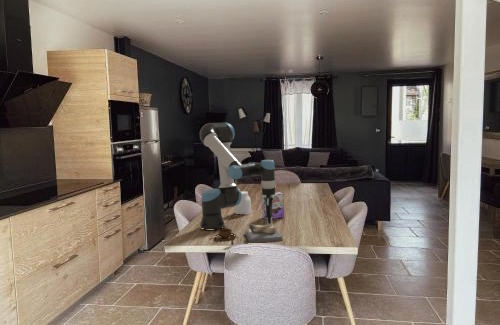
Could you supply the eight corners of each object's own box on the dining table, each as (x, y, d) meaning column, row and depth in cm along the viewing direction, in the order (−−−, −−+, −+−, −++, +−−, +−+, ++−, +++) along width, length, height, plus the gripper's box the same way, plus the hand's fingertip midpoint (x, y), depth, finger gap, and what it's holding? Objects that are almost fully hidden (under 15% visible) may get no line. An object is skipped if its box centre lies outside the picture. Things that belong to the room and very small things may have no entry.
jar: (251, 211, 271) (250, 191, 270) (250, 214, 262) (249, 193, 260) (235, 211, 272) (235, 191, 270) (234, 215, 262) (233, 194, 261)
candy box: (264, 219, 247) (263, 195, 245) (261, 217, 253) (261, 193, 251) (284, 217, 250) (283, 193, 249) (281, 215, 256) (280, 191, 254)
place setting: (243, 235, 215) (242, 225, 215) (235, 247, 196) (235, 236, 195) (213, 235, 219) (213, 225, 218) (203, 246, 199) (202, 235, 198)
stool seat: (249, 242, 200) (248, 233, 200) (245, 233, 217) (244, 225, 216) (282, 240, 203) (281, 231, 202) (275, 231, 219) (275, 223, 219)
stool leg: (248, 230, 214) (248, 225, 214) (251, 229, 217) (250, 224, 217) (274, 233, 208) (273, 227, 207) (276, 231, 211) (275, 226, 210)
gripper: (273, 189, 203) (275, 231, 206) (276, 185, 216) (277, 225, 219) (260, 189, 205) (261, 231, 207) (263, 185, 217) (264, 225, 220)
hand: (269, 228), depth 213 cm, fingers closed
